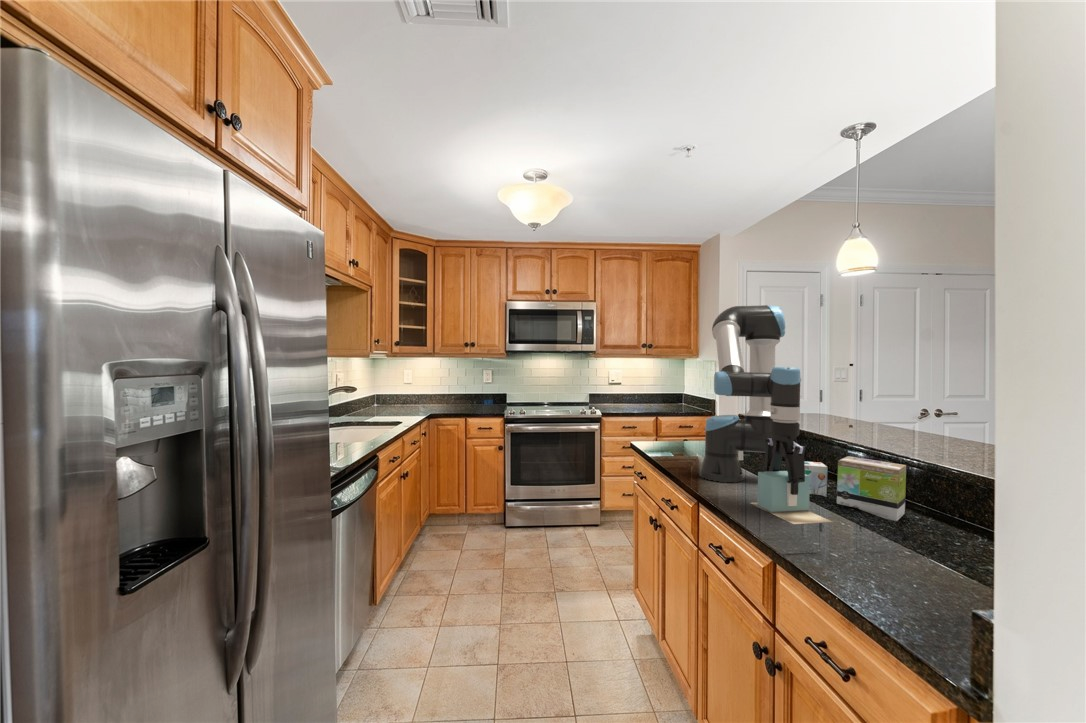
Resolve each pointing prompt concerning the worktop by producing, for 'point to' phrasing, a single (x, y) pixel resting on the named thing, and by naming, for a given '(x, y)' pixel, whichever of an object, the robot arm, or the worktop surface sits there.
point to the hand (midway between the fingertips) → (783, 501)
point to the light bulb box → (817, 477)
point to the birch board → (800, 517)
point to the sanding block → (780, 492)
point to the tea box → (872, 486)
